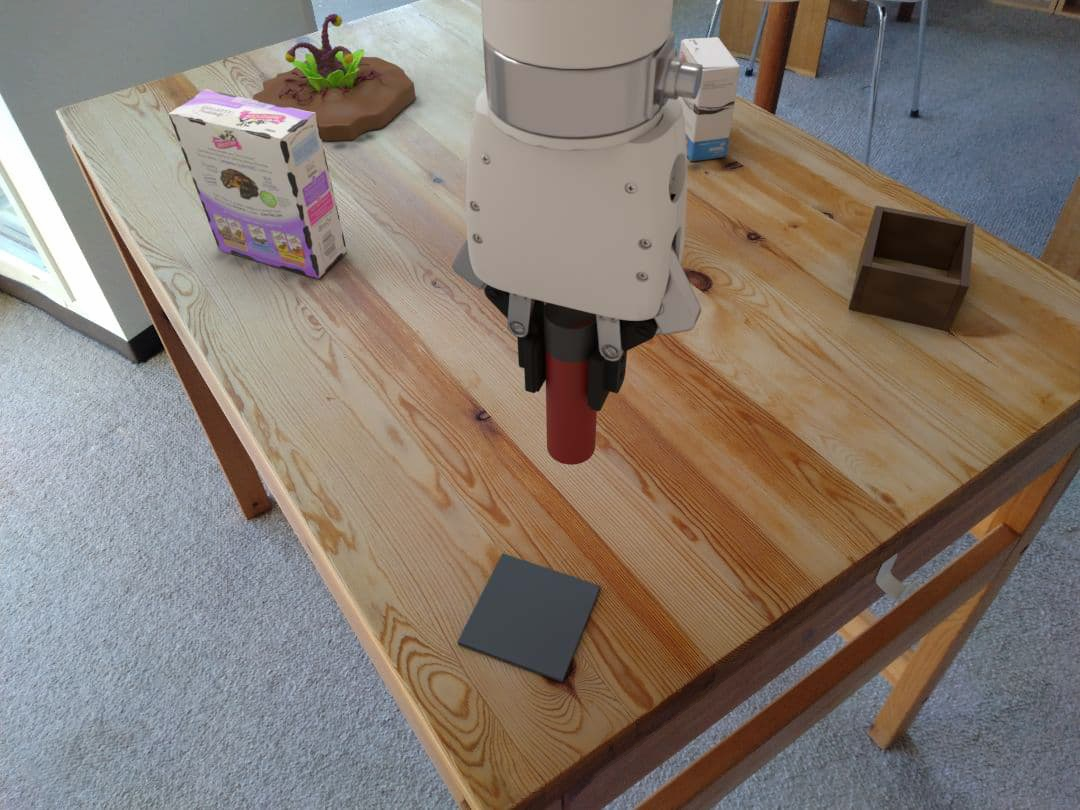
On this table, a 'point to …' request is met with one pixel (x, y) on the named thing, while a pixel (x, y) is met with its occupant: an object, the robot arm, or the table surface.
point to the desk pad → (530, 617)
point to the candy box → (262, 180)
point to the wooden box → (908, 289)
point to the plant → (340, 88)
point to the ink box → (709, 98)
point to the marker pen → (569, 383)
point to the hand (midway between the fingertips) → (571, 382)
